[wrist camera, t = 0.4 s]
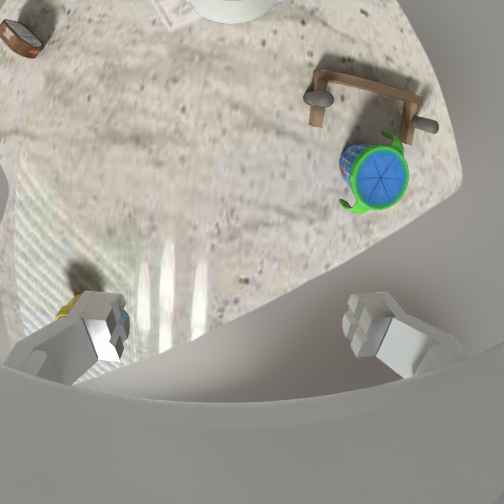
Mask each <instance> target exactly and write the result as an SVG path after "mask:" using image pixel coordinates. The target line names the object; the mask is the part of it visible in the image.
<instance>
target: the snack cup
mask: <svg viewBox="0 0 504 504" xmlns="http://www.w3.org/2000/svg"><path fill="white" fill-rule="evenodd" d="M381 133H382V134H383V135H385V136H386V137H387V138H389V139H393V143H392V144H391V145H390V146H386V145H367V144H355V145H351V146H349V147H347V149H346V150H345V151H344V152H343V154H342V156H341V159H340V161H339V166H340V171H341V173H342V175H343V177H344V179H345V180H346V181H347V183H348V184H349V186H350V187H351V189H352V192H353V194H354V196H355V197H356V204H355V205H354V206H353V207H351V206H350V205H349V203H348V202H347V201H345V200H343V199H339V202H340V204H341V205H342V206H343V207H344V208H345V209H347V210H349V211H350V212H352V213H354V214H362V213H365V212H367V211H369V210H371V209H373V210H383V209H387V208H389V207H391V206H393V205H394V204H395V203H397V202H398V201H399V200H400V199H401V197H402V196H403V194H404V193H405V191H406V188H407V185H408V181H409V170H408V165H407V162H406V160H405V159H404V156H403V152H404V150H403V149H404V148H403V145H402V142H401V140H400V139H399V138H398V137H397V136H396V135H394V134H393V133H392V132H390V131H388V130H381Z"/></svg>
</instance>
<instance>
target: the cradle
mask: <svg viewBox="0 0 504 504" xmlns="http://www.w3.org/2000/svg"><path fill="white" fill-rule="evenodd" d="M326 81H327V82H332V83H337V84H342V85H347V86H351V87H356V88H360V89H364V90H368V91H372V92H375V93H379V94H382V95H386V96H389V97H393V98H396V99H399V100H402V101H404V107H403V115H402V122H401V129H400V136H399V139H400V140H401V142H402V143H405V144H409V145H412V140H413V134H414V128H417V129H420V130H423V131H427V132H430V133H433V134H436V133H437V132H438V130H439V125H438V123H437V122H436V121H434V120H431V119H427V118H423V117H419V116H416V113H417V105H422V104H423V98H422V97H420V96H417V95H414V94H412V93H409V92H406V91H403V90H400V89H397V88H394V87H391V86H388V85H385V84H382V83H378V82H375V81H371V80H367V79H364V78H360V77H356V76H352V75H348V74H343V73H339V72H334V71H329V70H324V69H319V70H316V71H314V74H313V86H312V91H309V92H306V93H305V94H304V96H303V99H304V102H305V103H306V104H308V105H311V109H310V119H309V125H311V126H314V127H322V122H323V112H324V107H329V106H331V105H332V104H333V102H334V97H333V95H332V94H331V93H330V92H328V91H326Z"/></svg>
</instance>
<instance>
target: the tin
mask: <svg viewBox="0 0 504 504" xmlns="http://www.w3.org/2000/svg"><path fill="white" fill-rule="evenodd" d="M0 38H1V39H2V40H3V41H4V42H5V44H6V45H7V46H8V47H9V48H10V49H11V50H12V51H14V52H15V53H17V54H18V55H21V56H23V57H26V58H31V59H33V58H35V57H36V56H37V54H38V53H39V51H40V50H41V49H42V47H43V45H42V43H41V41H40V40H39V39H38V38H37V37H36V36H35V35H34V34H33V33H32V32H31V31H30V30H29V29H28V28H26V27H25V26H24V25H22V24H21V23H19V22H16V21H11V20H7V19H5V20H3V22H2V23H1V24H0Z"/></svg>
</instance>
